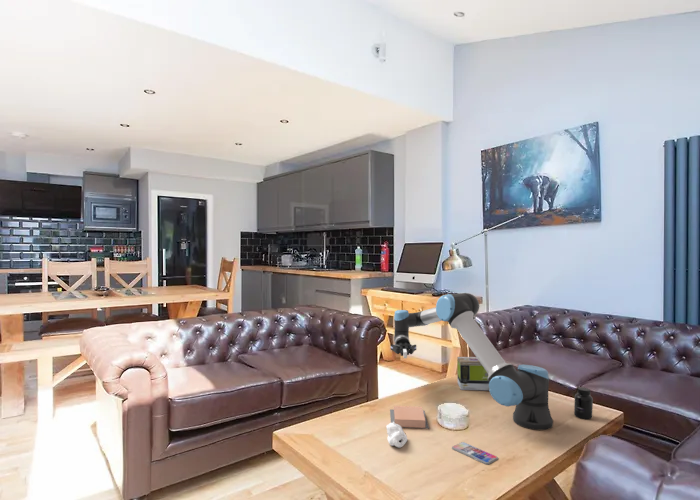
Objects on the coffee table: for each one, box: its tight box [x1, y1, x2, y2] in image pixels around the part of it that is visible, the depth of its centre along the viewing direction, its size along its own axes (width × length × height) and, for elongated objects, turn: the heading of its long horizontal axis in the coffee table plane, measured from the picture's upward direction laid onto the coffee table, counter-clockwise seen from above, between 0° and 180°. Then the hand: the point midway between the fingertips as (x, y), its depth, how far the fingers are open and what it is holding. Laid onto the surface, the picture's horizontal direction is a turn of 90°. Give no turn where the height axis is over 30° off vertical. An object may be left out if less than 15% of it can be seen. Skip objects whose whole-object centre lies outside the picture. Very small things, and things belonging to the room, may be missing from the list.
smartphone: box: [451, 441, 499, 466], centre depth 149 cm, size 7×1×15 cm
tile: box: [393, 405, 426, 429], centre depth 175 cm, size 3×12×14 cm
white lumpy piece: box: [385, 422, 408, 449], centre depth 157 cm, size 9×12×8 cm
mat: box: [389, 408, 430, 430], centre depth 177 cm, size 18×15×1 cm
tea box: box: [456, 356, 490, 391], centre depth 217 cm, size 15×10×15 cm
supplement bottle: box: [573, 386, 594, 421], centre depth 181 cm, size 7×7×12 cm
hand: (405, 355), depth 192 cm, fingers closed
